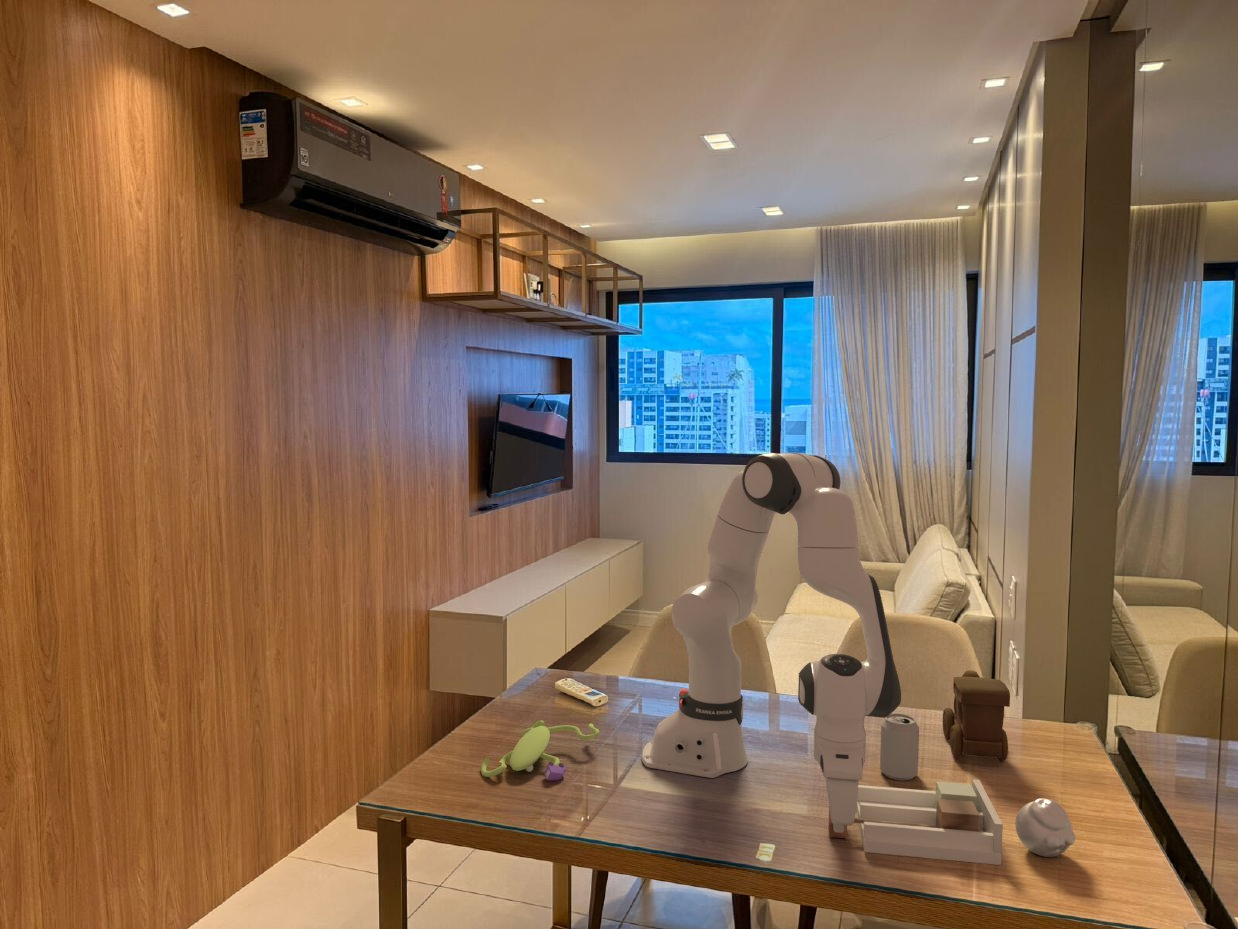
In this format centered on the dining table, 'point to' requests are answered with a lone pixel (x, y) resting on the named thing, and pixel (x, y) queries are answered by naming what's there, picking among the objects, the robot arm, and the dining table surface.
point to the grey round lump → (1044, 828)
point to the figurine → (536, 751)
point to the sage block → (955, 792)
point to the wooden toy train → (977, 717)
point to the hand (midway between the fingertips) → (837, 825)
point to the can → (899, 746)
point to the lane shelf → (925, 839)
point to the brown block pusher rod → (947, 817)
